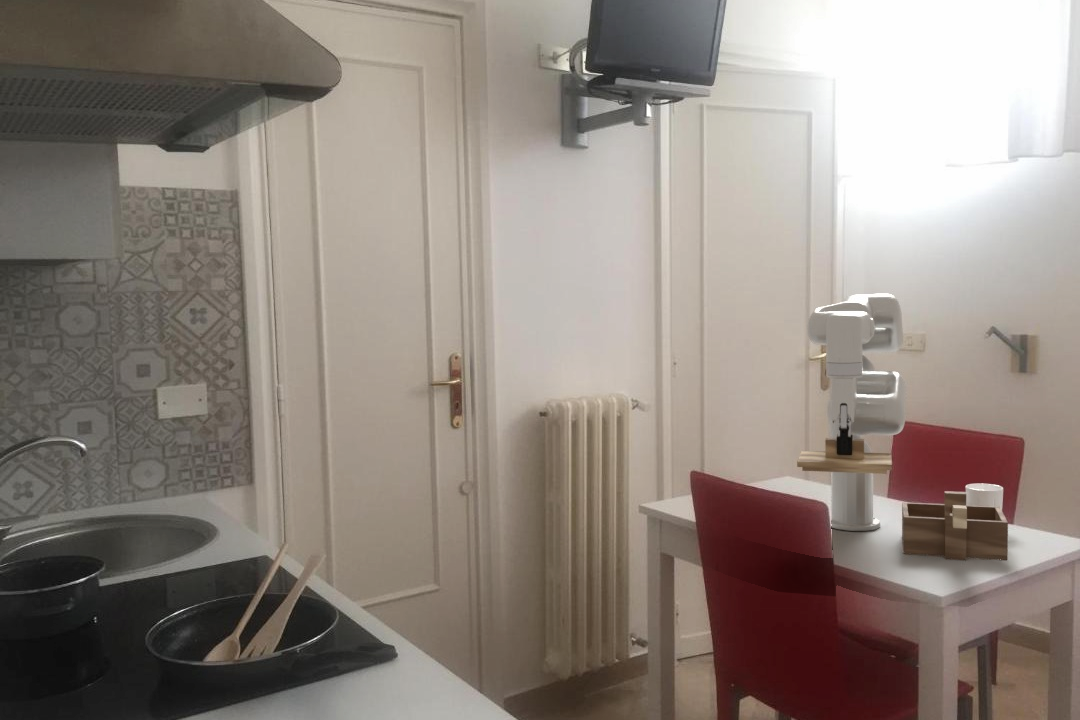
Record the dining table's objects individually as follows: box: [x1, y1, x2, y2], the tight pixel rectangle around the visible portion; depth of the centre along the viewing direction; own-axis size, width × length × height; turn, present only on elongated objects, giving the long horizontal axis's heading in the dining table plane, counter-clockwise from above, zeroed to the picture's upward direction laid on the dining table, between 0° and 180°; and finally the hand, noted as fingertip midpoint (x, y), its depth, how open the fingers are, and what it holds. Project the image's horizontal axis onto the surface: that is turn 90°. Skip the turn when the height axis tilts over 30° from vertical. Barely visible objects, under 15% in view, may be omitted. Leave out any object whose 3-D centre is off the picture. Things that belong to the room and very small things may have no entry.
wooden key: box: [952, 505, 967, 529], centre depth 186 cm, size 9×2×4 cm, turn 160°
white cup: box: [965, 482, 1004, 511], centre depth 216 cm, size 8×8×10 cm
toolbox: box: [901, 490, 1009, 562], centre depth 200 cm, size 16×20×14 cm
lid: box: [796, 437, 893, 475], centre depth 204 cm, size 13×19×6 cm
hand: (844, 452), depth 204 cm, fingers closed on lid, 2 cm apart
